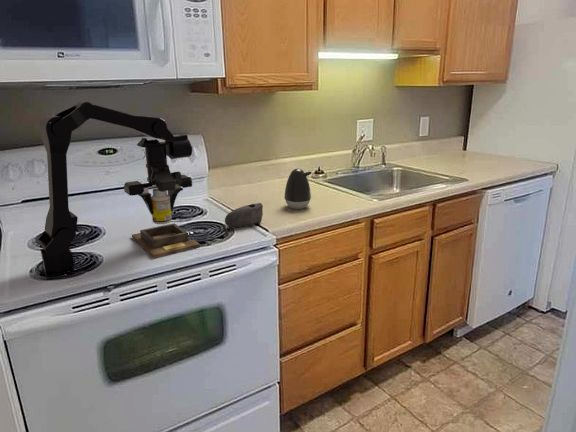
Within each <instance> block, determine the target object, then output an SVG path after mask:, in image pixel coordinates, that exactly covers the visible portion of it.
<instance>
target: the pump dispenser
mask: <svg viewBox="0 0 576 432" xmlns="http://www.w3.org/2000/svg"><path fill="white" fill-rule="evenodd" d="M310 175H312V171H307V172H305V171H304V170H303V169H301V168H295V169H293V170H292V171H291V172H290V173H289V175H288V178H287V181H286V184H285V187H284V200H285V203H286V204H287V206H288V207H289V208H290V209H294V210H303V209H304V208H307V207H308V206H309V204H310V201H311V200H312V193H311V191H312V190H311V186H310V182H309V179H308V176H310Z"/></svg>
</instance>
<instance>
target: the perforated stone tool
mask: <svg viewBox="0 0 576 432" xmlns="http://www.w3.org/2000/svg"><path fill="white" fill-rule="evenodd" d="M263 207H264V206H263V204H262V202H258V203H251V204H247V205H243V206H240V207H237V208H235V209H233V210H231V211H230V212H228V213H227V214H226V216H225V218H224V224H225V226H227V227H229V228H232V229H233V228H240V227H242V228H243V227H248V226H252V225H253V226H254V225H255V224H259V223H261V222H262V220H263V217H264V216H263V215H264V213H263V211H264V210H263Z"/></svg>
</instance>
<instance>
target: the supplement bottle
mask: <svg viewBox="0 0 576 432" xmlns="http://www.w3.org/2000/svg"><path fill="white" fill-rule="evenodd" d="M151 203H152V208H153V214H151V220H152V222H153V224H156V225H168V224H170V222H171V221H172V211H171V205H170V196H169V195H168V190H167V191H165V192H161V191H159V190H158V188H154V189H152V194H151Z"/></svg>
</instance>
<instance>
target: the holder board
mask: <svg viewBox="0 0 576 432" xmlns="http://www.w3.org/2000/svg"><path fill="white" fill-rule="evenodd" d="M174 233H175V235H174ZM188 236H189V232H187V231H186V230H184V229H183V228H181V227H180V226H179V225H177V224H176V223H167V224H162V225H159V226H155V227H149V228H144V229H141V230H139V232H138V233H133V234H131V239H133V240H134V241H135V242H136V243H137V244H138V245H139V246H140V247H141V248H143V249H144V251H145V252H147V254H149V256H151V257H152V258H153V259H156V258H157V259H158V258H161V257H164V256H170V255H173V254H177V252H178V253H182V252H185V250H186V251H189V249H190V250H193V248H194V249H197V248H196V247H198V248H200V245H201V244H200V243H199V242H198V241H196V240H195V239H193V240H191V239H190V240H189V237H190V236H189V237H188ZM181 251H182V252H181ZM169 254H170V255H169Z"/></svg>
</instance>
